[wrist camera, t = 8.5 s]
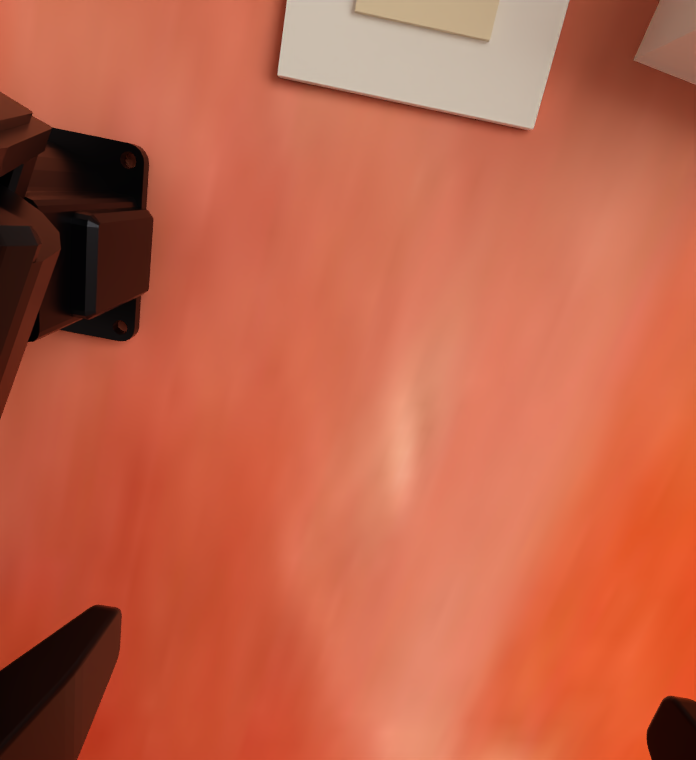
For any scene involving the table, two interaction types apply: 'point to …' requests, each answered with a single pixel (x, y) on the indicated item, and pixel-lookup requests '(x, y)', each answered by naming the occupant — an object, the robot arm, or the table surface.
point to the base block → (671, 40)
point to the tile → (428, 52)
